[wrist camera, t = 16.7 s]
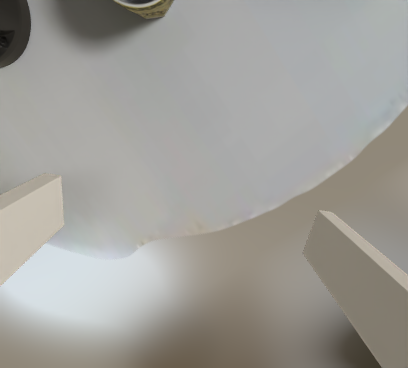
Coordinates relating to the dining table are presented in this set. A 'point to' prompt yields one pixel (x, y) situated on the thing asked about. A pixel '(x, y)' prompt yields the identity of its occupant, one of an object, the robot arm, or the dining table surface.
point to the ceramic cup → (147, 7)
